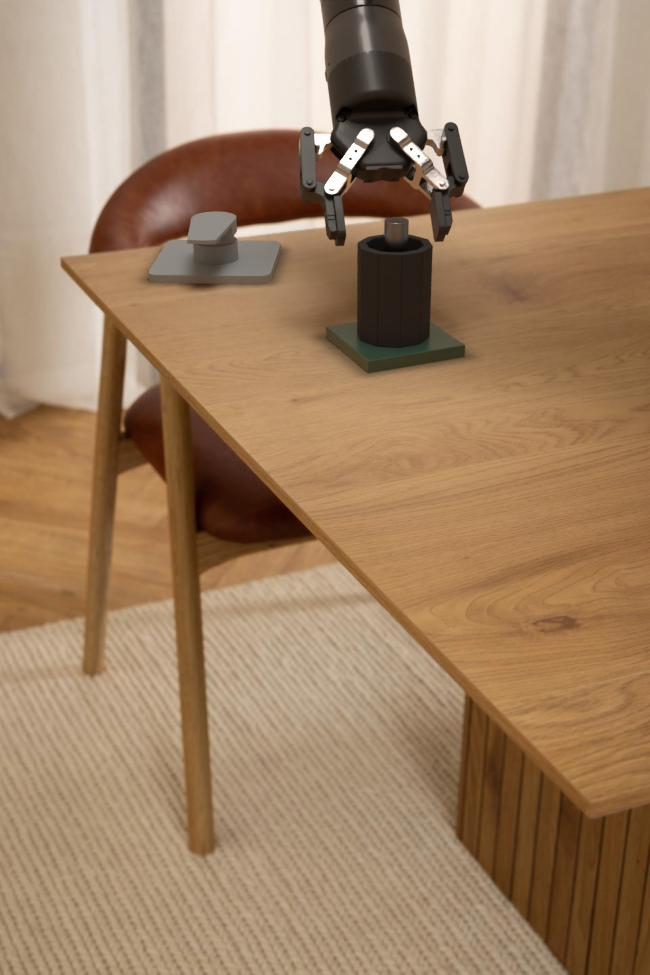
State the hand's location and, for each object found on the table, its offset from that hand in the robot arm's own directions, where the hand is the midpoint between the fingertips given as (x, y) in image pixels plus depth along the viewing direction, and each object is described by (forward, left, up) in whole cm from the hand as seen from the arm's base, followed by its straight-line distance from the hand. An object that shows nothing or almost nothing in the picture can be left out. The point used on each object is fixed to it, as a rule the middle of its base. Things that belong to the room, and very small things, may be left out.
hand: (391, 239), depth 99 cm
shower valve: (+14, -23, -9) cm, 29 cm away
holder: (0, +2, -9) cm, 9 cm away
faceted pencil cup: (0, +1, -8) cm, 8 cm away
